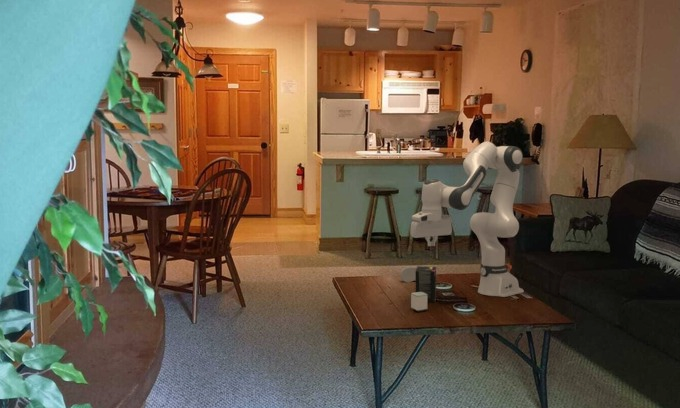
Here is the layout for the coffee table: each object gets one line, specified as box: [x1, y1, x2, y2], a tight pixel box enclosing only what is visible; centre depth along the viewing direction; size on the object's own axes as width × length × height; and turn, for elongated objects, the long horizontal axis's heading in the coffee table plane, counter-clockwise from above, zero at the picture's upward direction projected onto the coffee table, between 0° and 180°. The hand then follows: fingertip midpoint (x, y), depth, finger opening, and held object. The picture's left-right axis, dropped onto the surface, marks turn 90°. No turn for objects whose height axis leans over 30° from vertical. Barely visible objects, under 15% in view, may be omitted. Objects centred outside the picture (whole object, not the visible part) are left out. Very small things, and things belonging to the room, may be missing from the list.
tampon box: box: [415, 265, 437, 303], centre depth 293 cm, size 11×9×15 cm
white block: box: [410, 291, 428, 311], centre depth 274 cm, size 5×5×7 cm
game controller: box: [399, 265, 438, 283], centre depth 327 cm, size 20×2×8 cm, turn 100°
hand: (431, 245), depth 281 cm, fingers closed
